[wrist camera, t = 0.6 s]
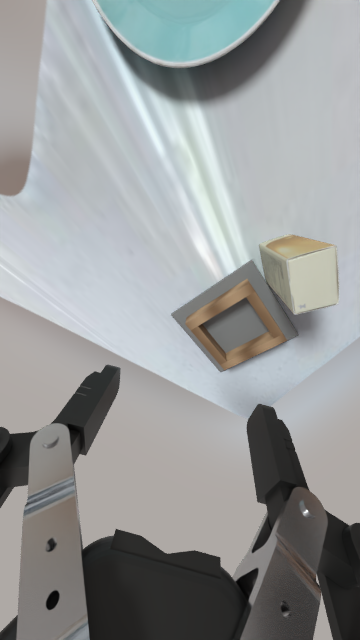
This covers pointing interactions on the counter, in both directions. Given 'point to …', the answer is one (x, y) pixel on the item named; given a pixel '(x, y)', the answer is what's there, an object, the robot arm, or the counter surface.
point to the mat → (236, 313)
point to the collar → (245, 350)
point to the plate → (183, 27)
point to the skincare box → (301, 272)
